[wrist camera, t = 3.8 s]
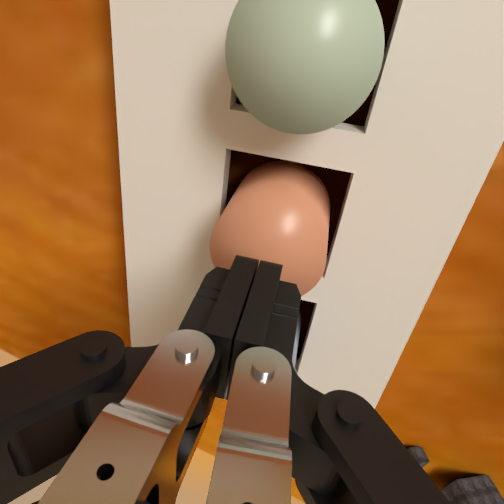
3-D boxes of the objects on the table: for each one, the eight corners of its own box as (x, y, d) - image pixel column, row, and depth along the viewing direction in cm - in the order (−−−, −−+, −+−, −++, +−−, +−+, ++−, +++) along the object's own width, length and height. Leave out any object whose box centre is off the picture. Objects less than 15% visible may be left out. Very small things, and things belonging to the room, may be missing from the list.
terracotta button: (341, 171, 16) (339, 215, 13) (318, 256, 18) (312, 312, 15) (240, 152, 17) (213, 190, 13) (231, 238, 19) (206, 288, 16)
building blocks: (486, 544, 27) (397, 568, 24) (439, 460, 31) (357, 471, 28) (521, 527, 25) (430, 550, 22) (466, 440, 29) (382, 449, 26)
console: (587, -133, 12) (652, -168, 9) (363, 385, 25) (365, 427, 23) (142, -182, 13) (95, -224, 11) (152, 333, 26) (132, 368, 24)
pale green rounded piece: (392, -22, 13) (408, -30, 9) (356, 114, 15) (359, 146, 12) (262, -41, 13) (232, -55, 10) (247, 94, 15) (219, 120, 12)
